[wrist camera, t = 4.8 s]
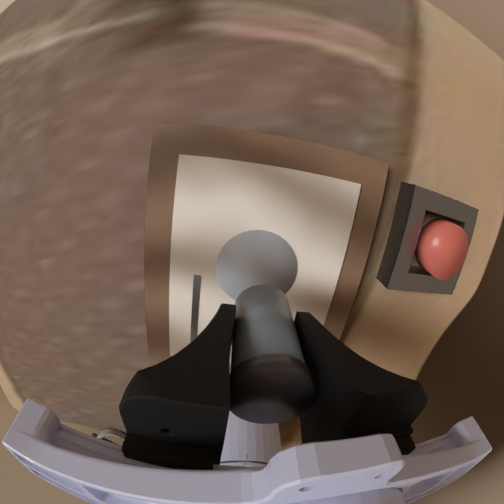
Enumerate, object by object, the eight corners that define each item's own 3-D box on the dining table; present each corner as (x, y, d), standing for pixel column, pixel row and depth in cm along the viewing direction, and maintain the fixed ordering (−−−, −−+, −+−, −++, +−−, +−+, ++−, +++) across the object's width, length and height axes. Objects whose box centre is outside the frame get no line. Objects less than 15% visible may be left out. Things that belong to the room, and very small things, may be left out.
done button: (444, 272, 19) (457, 282, 17) (408, 267, 19) (422, 277, 17) (458, 223, 18) (473, 230, 16) (424, 213, 17) (439, 219, 15)
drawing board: (318, 375, 24) (321, 384, 23) (152, 358, 23) (149, 367, 22) (382, 162, 17) (390, 163, 16) (159, 124, 16) (153, 122, 15)
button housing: (440, 285, 21) (452, 294, 19) (376, 277, 20) (387, 288, 19) (464, 204, 18) (478, 209, 17) (401, 181, 18) (415, 185, 16)
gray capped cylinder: (284, 334, 14) (302, 424, 9) (229, 329, 14) (222, 420, 8) (296, 286, 13) (327, 372, 8) (235, 279, 13) (230, 367, 7)
